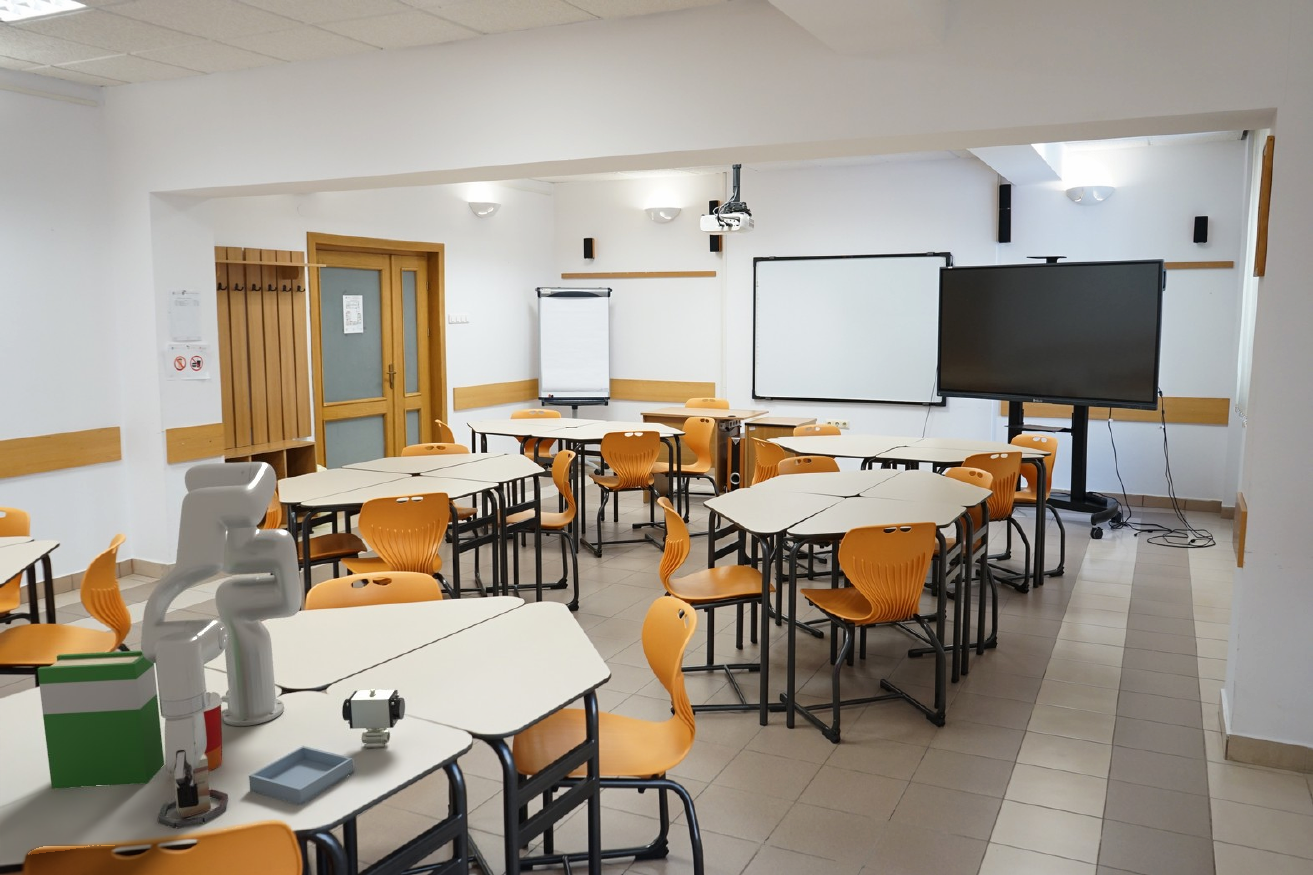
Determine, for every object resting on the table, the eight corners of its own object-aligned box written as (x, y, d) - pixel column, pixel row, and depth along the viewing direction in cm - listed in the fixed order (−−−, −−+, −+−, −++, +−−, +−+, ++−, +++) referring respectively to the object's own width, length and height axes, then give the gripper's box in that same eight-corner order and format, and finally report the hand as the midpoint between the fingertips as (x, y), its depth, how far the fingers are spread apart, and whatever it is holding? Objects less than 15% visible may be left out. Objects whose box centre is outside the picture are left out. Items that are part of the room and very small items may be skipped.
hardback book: (51, 788, 180) (37, 668, 177) (72, 770, 188) (59, 654, 184) (147, 783, 182) (134, 664, 178) (164, 764, 189) (152, 650, 186)
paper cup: (194, 757, 192) (188, 691, 190) (233, 755, 192) (227, 689, 191) (178, 776, 184) (172, 707, 182) (219, 773, 185) (213, 705, 183)
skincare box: (181, 819, 168) (176, 766, 167) (176, 809, 171) (170, 757, 170) (213, 809, 171) (208, 756, 170) (206, 799, 175) (201, 748, 173)
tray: (250, 790, 178) (248, 775, 177) (304, 759, 190) (303, 745, 189) (301, 805, 172) (300, 789, 172) (353, 772, 184) (352, 758, 183)
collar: (146, 819, 169) (145, 813, 168) (199, 790, 178) (199, 785, 178) (187, 832, 164) (187, 827, 164) (240, 802, 173) (240, 797, 173)
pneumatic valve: (401, 749, 193) (397, 693, 191) (344, 750, 193) (340, 694, 192) (408, 737, 199) (405, 682, 197) (353, 738, 199) (349, 684, 197)
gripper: (173, 686, 176) (182, 777, 178) (147, 725, 159) (157, 825, 162) (216, 681, 178) (225, 771, 180) (195, 720, 161) (205, 818, 164)
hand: (193, 796), depth 171 cm, fingers closed on skincare box, 5 cm apart
